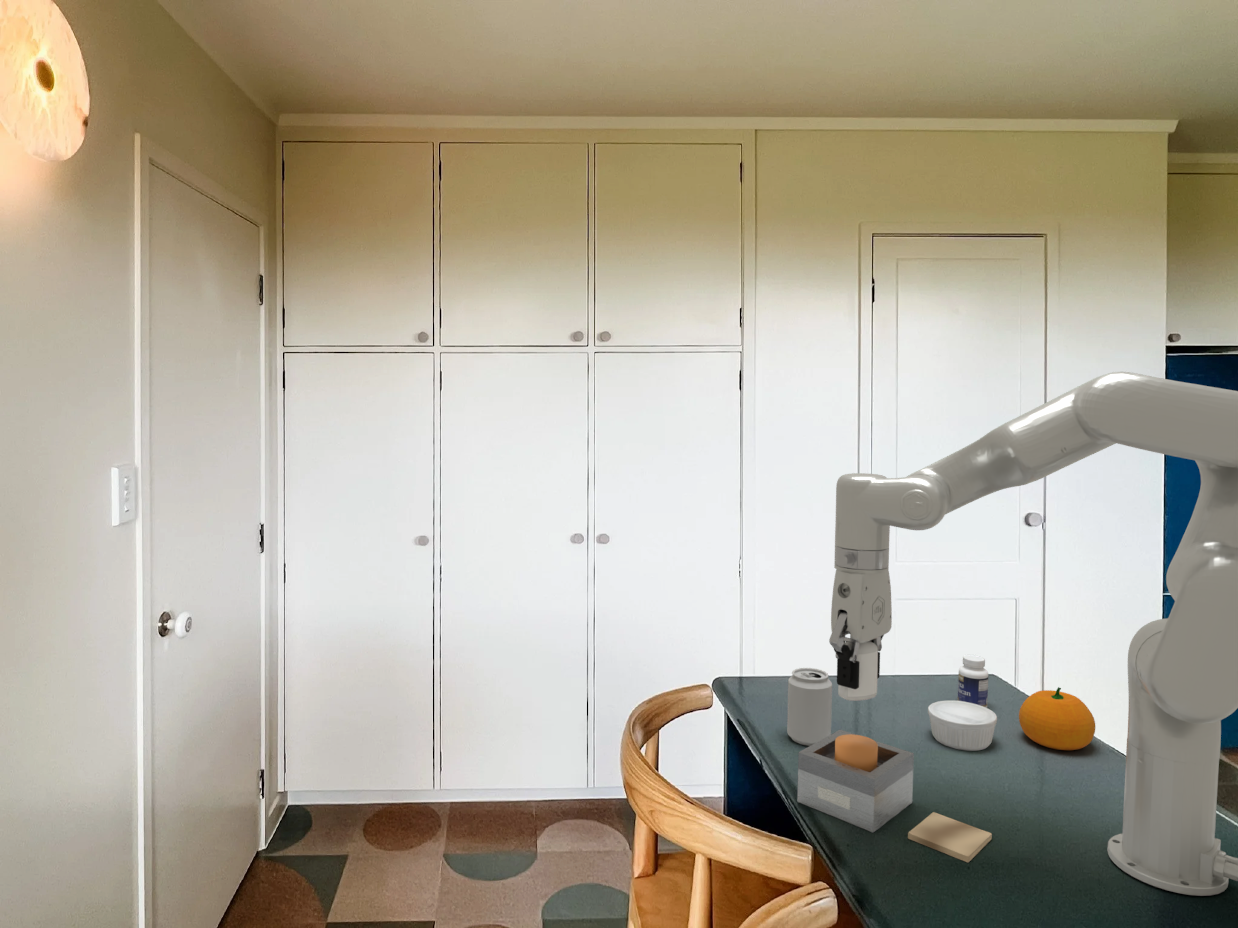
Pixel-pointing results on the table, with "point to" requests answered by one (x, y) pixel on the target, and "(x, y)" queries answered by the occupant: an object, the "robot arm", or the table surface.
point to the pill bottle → (973, 681)
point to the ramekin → (962, 724)
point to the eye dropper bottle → (863, 673)
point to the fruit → (1057, 720)
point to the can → (809, 706)
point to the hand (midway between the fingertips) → (858, 680)
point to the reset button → (857, 751)
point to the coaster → (950, 836)
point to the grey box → (855, 784)
